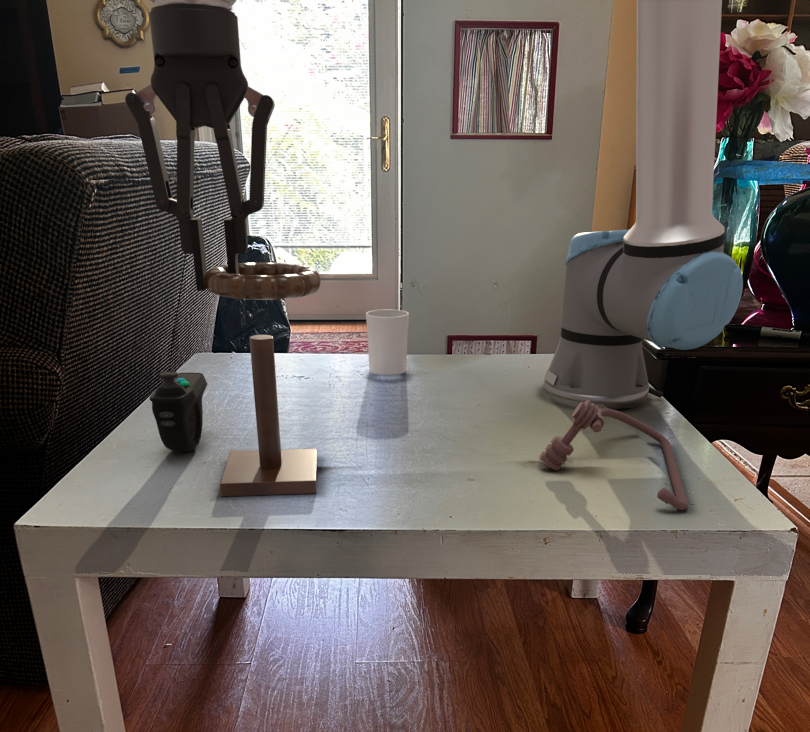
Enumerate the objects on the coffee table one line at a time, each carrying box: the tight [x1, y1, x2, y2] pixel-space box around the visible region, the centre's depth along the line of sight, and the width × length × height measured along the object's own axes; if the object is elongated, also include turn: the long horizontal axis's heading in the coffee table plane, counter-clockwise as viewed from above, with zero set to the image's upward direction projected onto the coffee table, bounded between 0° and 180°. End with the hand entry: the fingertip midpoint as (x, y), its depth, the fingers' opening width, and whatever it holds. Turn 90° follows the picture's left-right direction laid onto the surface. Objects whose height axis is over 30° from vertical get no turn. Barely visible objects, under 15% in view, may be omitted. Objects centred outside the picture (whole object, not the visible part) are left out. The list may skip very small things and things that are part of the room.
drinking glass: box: [365, 308, 410, 376], centre depth 124 cm, size 7×7×10 cm
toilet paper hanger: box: [539, 400, 689, 511], centre depth 89 cm, size 22×8×14 cm
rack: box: [219, 334, 318, 497], centre depth 84 cm, size 10×10×16 cm
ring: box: [203, 262, 322, 301], centre depth 78 cm, size 11×11×2 cm
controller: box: [149, 370, 208, 452], centre depth 94 cm, size 4×12×10 cm, turn 179°
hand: (218, 288), depth 78 cm, fingers closed on ring, 2 cm apart
